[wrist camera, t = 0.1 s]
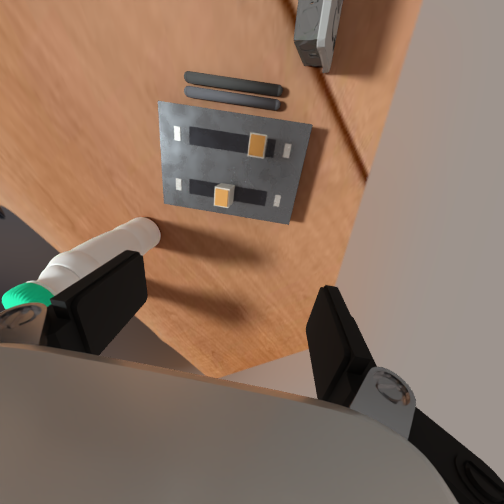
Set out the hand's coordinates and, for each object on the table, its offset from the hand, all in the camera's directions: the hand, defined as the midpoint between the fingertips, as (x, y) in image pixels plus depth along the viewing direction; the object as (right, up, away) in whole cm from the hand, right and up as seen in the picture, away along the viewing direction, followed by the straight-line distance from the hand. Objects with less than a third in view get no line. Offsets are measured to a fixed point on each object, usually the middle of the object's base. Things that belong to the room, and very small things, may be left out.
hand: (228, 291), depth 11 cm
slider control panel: (-2, +18, +26) cm, 32 cm away
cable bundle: (-2, +27, +21) cm, 35 cm away
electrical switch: (+10, +33, +18) cm, 39 cm away
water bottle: (-22, +7, +34) cm, 41 cm away
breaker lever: (-3, +13, +25) cm, 28 cm away
